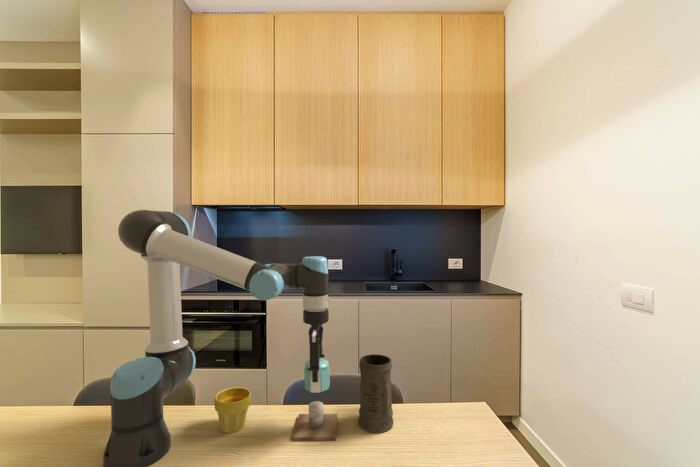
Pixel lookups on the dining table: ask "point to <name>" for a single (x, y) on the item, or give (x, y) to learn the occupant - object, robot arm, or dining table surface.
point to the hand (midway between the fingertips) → (316, 385)
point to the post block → (316, 425)
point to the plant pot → (232, 408)
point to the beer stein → (375, 394)
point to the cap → (323, 375)
